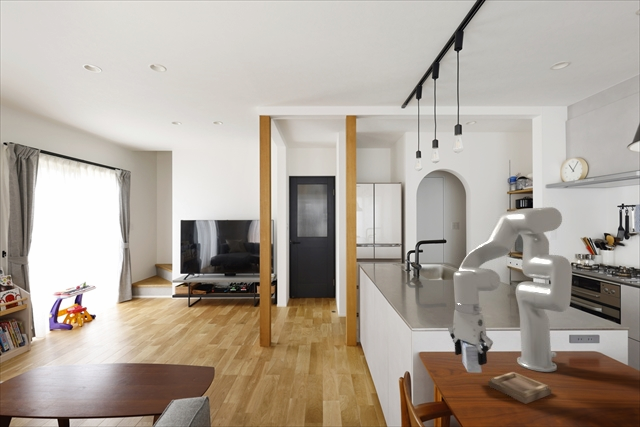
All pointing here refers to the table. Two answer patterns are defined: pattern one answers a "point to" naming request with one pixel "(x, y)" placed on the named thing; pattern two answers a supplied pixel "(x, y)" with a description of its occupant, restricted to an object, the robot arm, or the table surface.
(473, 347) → the medicine box
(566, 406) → the table surface
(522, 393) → the square wooden tray
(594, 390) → the table surface
